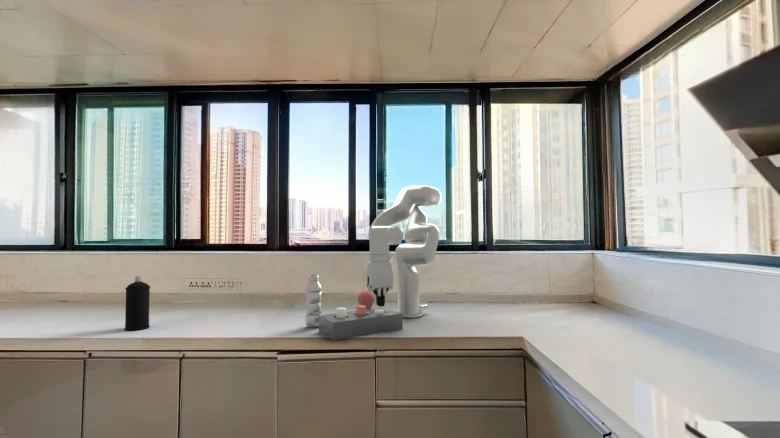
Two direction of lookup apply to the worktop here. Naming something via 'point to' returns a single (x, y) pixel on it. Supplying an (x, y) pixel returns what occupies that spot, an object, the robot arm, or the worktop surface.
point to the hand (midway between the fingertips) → (380, 305)
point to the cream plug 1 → (340, 313)
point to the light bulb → (366, 299)
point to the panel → (360, 324)
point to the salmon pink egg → (360, 310)
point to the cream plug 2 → (379, 311)
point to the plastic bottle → (313, 301)
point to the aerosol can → (137, 305)
